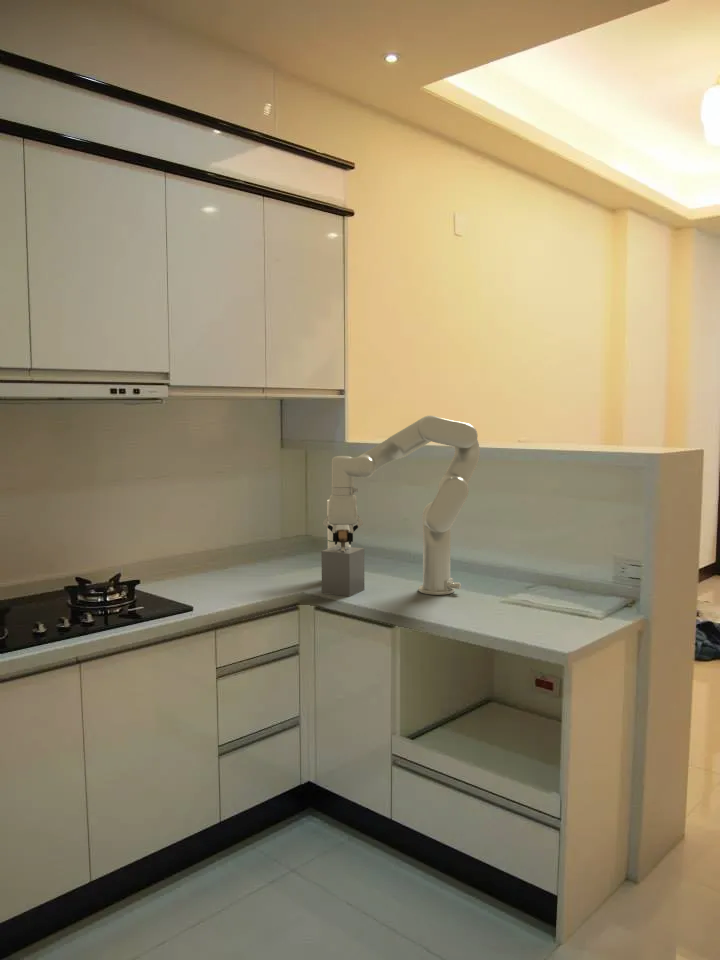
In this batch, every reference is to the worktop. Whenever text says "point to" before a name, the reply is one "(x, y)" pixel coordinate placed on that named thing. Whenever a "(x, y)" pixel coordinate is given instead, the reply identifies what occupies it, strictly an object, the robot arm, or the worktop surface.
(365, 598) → the worktop surface
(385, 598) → the worktop surface
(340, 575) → the grey box
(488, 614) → the worktop surface
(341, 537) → the plunger
